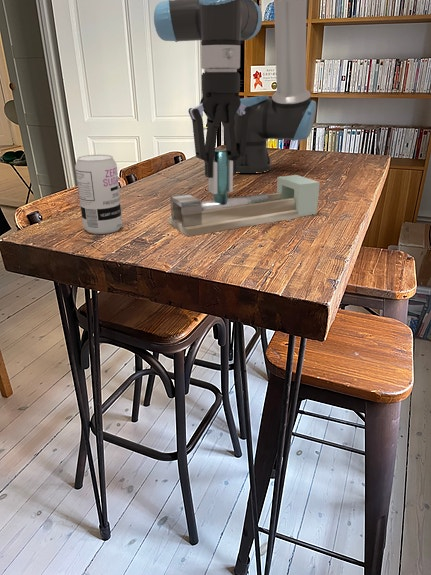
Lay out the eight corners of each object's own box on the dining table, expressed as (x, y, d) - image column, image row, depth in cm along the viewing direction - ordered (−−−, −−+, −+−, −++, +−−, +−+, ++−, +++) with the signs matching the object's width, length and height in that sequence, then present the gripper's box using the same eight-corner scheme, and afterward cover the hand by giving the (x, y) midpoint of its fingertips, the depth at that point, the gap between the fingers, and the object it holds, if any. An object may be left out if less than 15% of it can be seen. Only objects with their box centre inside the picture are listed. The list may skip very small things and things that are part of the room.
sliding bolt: (182, 218, 97) (179, 153, 91) (260, 206, 105) (263, 145, 99) (188, 222, 94) (186, 155, 88) (268, 210, 103) (271, 147, 97)
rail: (169, 223, 100) (167, 194, 97) (273, 207, 111) (275, 181, 108) (187, 236, 92) (186, 205, 89) (297, 217, 103) (300, 189, 100)
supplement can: (87, 223, 100) (78, 154, 93) (124, 222, 101) (118, 153, 94) (80, 235, 93) (69, 161, 86) (120, 234, 93) (113, 160, 87)
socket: (275, 207, 111) (277, 177, 108) (294, 204, 113) (296, 174, 110) (297, 217, 104) (300, 184, 100) (316, 213, 106) (319, 182, 103)
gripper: (190, 71, 81) (194, 200, 91) (266, 70, 87) (261, 191, 97) (174, 71, 87) (179, 192, 97) (246, 70, 93) (244, 184, 103)
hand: (220, 191), depth 97 cm, fingers closed on sliding bolt, 3 cm apart
